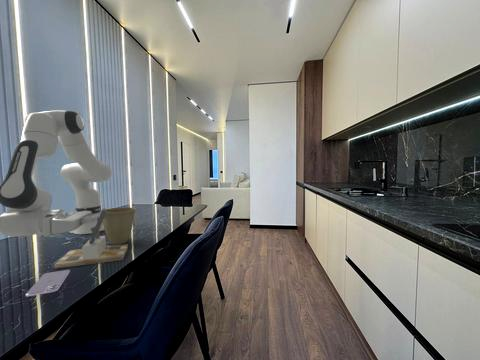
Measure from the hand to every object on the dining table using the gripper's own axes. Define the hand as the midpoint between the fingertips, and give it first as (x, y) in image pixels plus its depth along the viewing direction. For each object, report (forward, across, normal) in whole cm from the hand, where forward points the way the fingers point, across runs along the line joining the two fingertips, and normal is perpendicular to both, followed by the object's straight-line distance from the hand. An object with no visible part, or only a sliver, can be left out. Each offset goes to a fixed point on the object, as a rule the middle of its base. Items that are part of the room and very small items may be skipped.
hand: (98, 218), depth 89 cm
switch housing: (-2, -4, -15) cm, 15 cm away
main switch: (-2, -1, -9) cm, 9 cm away
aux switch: (-2, -8, -9) cm, 12 cm away
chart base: (-2, -4, -16) cm, 17 cm away
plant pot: (+3, -21, -16) cm, 27 cm away
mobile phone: (-10, +15, -17) cm, 25 cm away
